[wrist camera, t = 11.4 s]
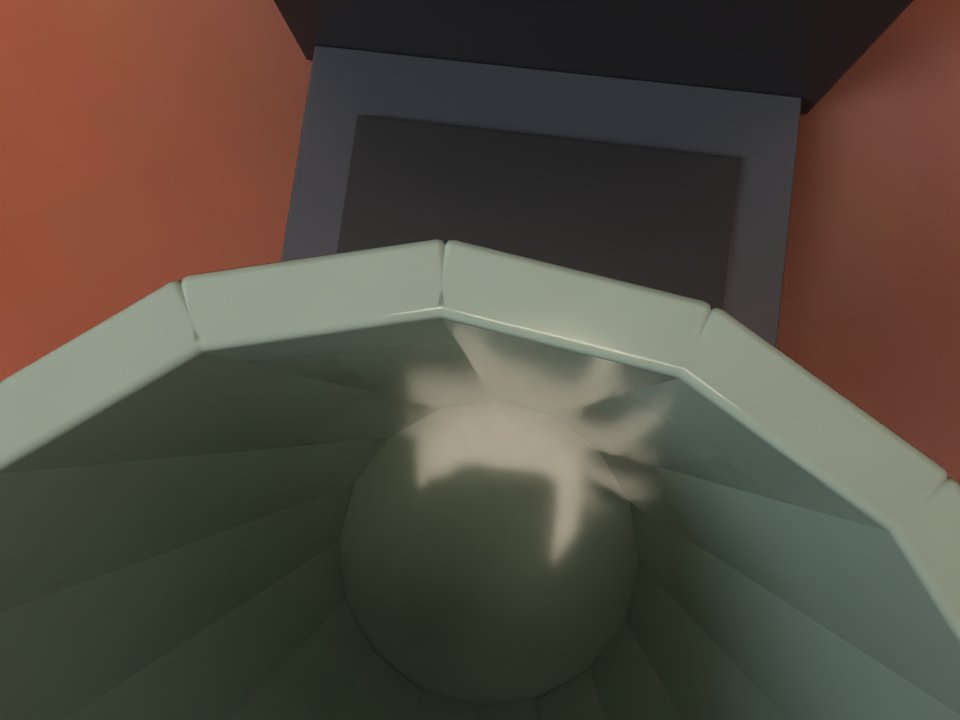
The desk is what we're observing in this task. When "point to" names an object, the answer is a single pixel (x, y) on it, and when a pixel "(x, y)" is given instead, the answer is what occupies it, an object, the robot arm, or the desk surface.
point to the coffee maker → (571, 132)
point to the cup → (460, 509)
